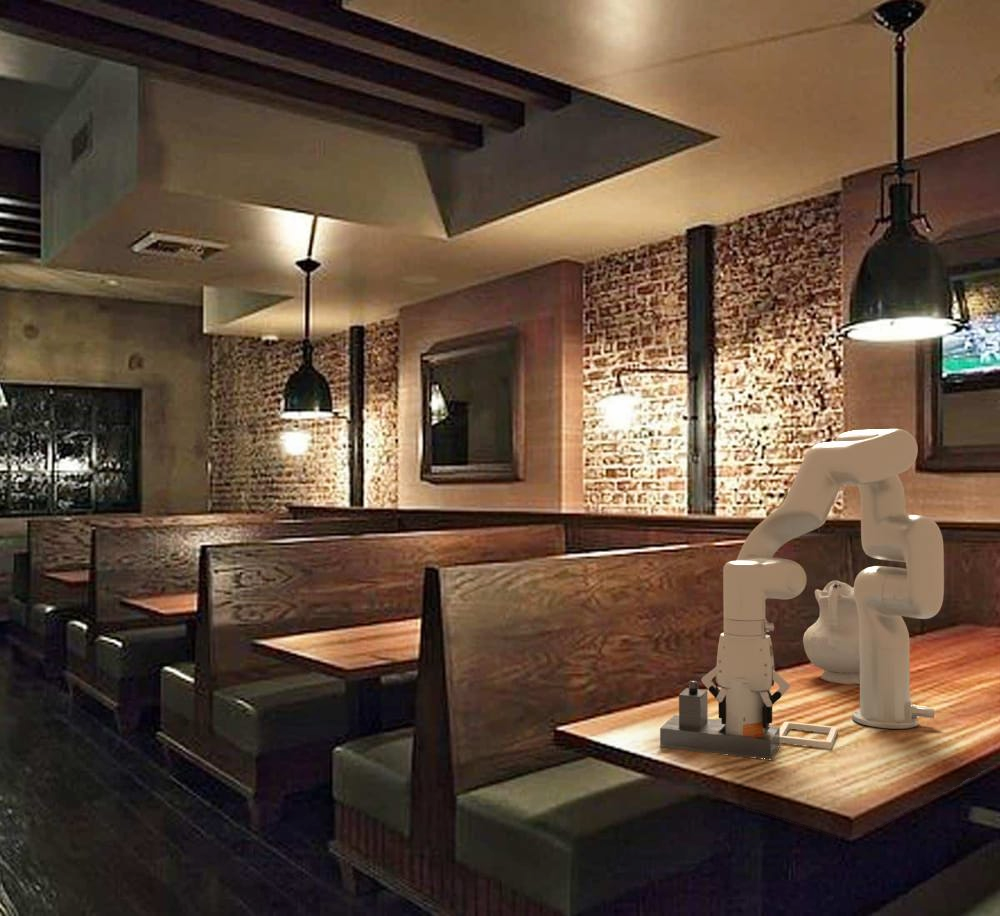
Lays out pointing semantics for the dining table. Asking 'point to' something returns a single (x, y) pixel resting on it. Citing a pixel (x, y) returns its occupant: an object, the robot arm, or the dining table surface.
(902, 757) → the dining table surface
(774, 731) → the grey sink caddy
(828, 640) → the ceramic pitcher
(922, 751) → the dining table surface
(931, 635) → the dining table surface
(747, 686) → the skincare box
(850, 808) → the dining table surface
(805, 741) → the tray frame
